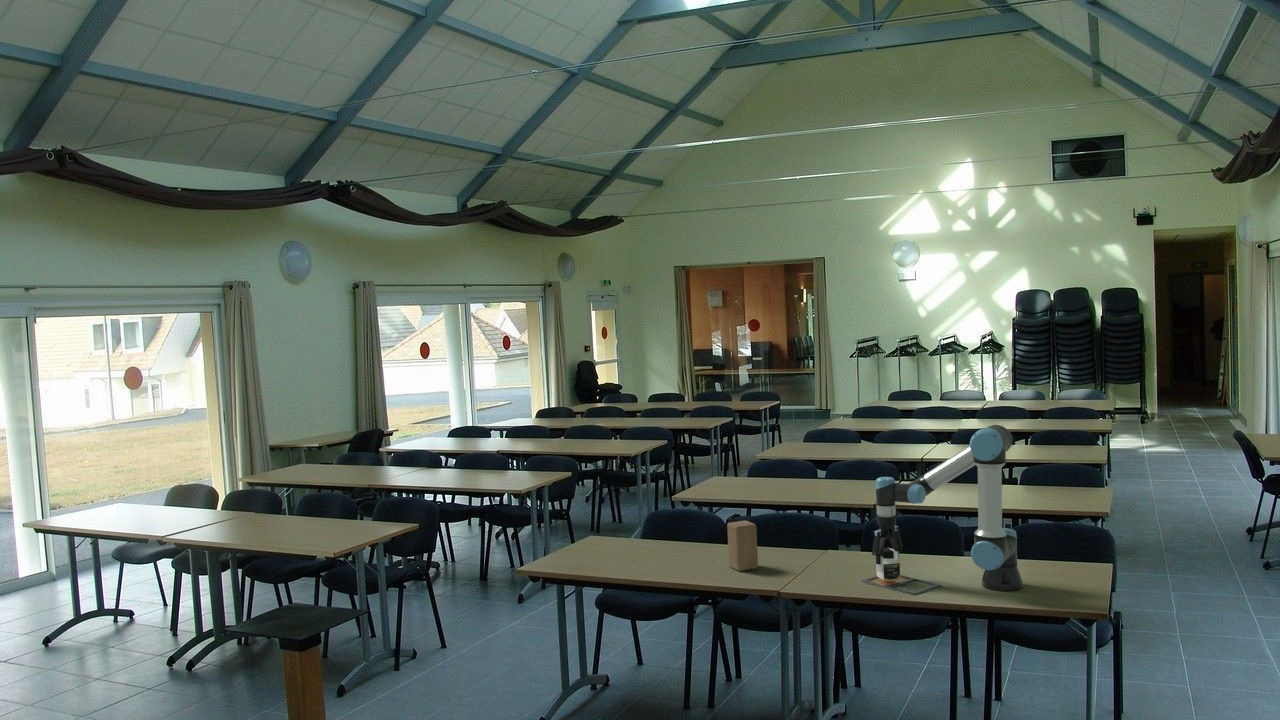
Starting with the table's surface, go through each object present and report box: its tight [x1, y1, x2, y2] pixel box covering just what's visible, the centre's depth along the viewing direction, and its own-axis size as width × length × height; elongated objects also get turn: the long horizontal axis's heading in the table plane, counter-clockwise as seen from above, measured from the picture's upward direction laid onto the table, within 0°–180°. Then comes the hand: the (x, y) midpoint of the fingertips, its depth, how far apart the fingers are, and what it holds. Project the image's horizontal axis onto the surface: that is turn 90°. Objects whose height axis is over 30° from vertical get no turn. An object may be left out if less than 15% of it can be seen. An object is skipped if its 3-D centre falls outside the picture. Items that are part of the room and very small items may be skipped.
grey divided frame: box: [861, 574, 942, 596], centre depth 395 cm, size 26×17×1 cm, turn 37°
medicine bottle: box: [875, 547, 901, 581], centre depth 399 cm, size 7×7×12 cm
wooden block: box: [727, 520, 759, 572], centre depth 430 cm, size 10×10×20 cm
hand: (888, 569), depth 400 cm, fingers closed on medicine bottle, 9 cm apart
